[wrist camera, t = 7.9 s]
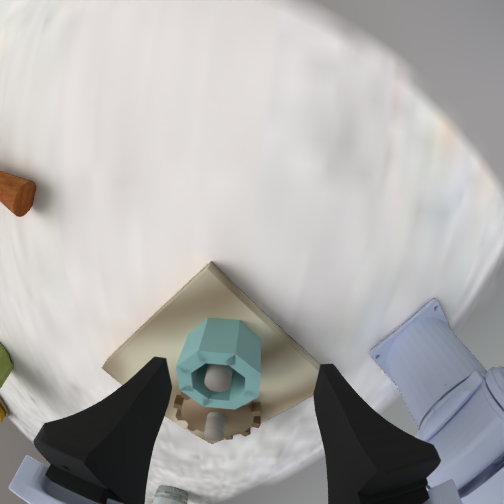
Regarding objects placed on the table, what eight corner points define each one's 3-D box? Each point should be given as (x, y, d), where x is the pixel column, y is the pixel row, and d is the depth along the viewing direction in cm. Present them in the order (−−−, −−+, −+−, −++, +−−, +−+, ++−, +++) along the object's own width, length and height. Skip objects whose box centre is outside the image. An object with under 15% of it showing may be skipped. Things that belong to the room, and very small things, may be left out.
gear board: (329, 372, 23) (341, 415, 18) (213, 434, 27) (207, 471, 22) (211, 261, 20) (195, 295, 15) (107, 359, 24) (84, 394, 18)
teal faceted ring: (274, 350, 21) (277, 386, 17) (224, 382, 22) (219, 416, 18) (223, 305, 19) (216, 337, 16) (175, 343, 21) (161, 376, 17)
